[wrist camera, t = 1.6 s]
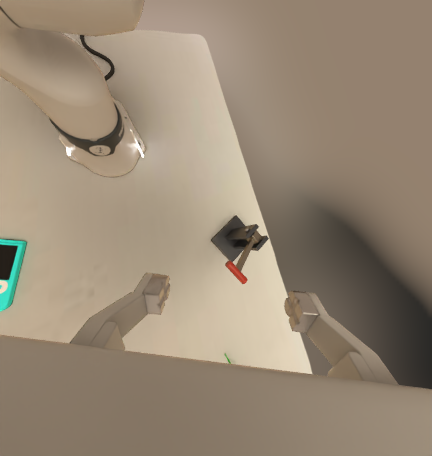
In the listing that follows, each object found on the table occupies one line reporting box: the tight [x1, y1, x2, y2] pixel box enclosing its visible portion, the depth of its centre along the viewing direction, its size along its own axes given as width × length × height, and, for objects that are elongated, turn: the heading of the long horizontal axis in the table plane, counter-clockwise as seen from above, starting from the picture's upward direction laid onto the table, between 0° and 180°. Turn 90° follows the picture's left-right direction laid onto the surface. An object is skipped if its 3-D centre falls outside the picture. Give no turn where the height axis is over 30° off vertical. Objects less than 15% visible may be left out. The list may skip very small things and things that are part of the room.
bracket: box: [211, 216, 269, 262], centre depth 46 cm, size 12×10×15 cm
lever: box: [225, 230, 261, 284], centre depth 37 cm, size 14×5×2 cm, turn 133°
